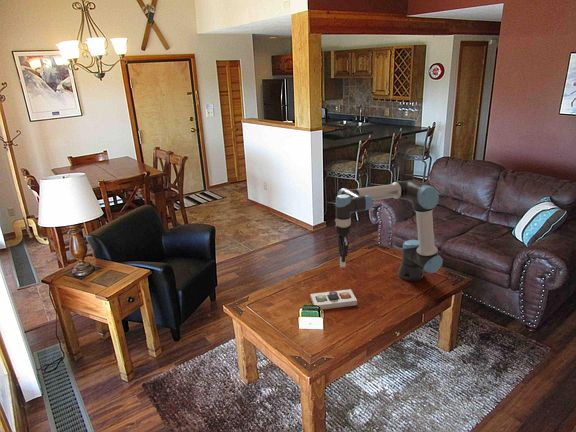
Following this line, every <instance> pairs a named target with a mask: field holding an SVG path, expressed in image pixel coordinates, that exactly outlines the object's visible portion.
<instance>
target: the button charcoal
mask: <svg viewBox="0 0 576 432" xmlns="http://www.w3.org/2000/svg"><path fill="white" fill-rule="evenodd" d="M335 291H336V290H333V291H328V292H329V301H331V300H338V293H337V292H335Z"/></svg>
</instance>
